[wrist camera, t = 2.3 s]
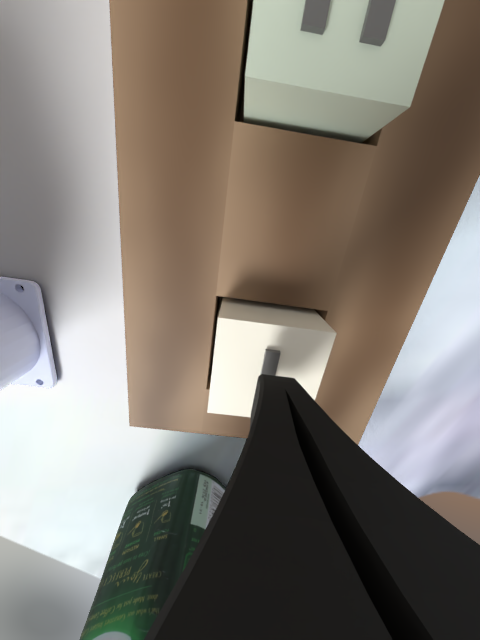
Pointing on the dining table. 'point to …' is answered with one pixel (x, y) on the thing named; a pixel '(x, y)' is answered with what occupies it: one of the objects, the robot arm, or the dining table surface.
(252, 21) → the sage button
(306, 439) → the robot arm
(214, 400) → the cream button
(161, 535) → the coffee jar
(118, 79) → the board
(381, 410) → the dining table surface
